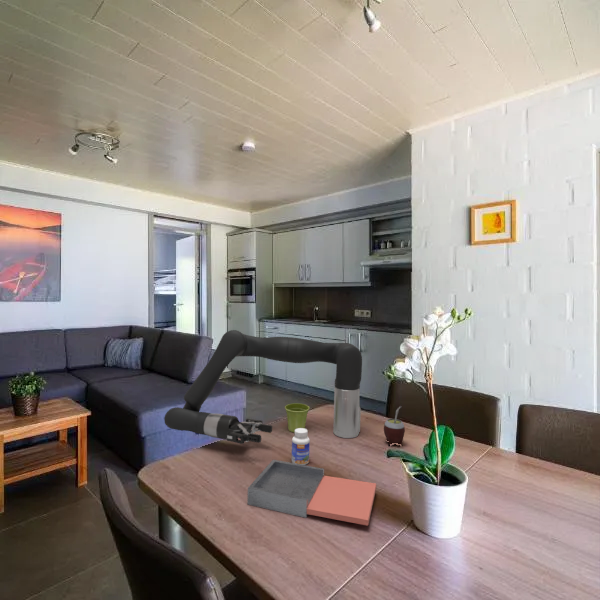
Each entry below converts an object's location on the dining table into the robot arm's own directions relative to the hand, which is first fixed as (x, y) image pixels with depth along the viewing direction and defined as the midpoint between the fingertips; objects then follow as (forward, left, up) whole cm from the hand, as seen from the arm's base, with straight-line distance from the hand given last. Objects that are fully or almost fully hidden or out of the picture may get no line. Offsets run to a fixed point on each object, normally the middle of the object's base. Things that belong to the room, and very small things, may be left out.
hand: (266, 433), depth 113 cm
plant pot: (-22, -10, -7) cm, 25 cm away
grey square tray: (+8, +21, -7) cm, 23 cm away
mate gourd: (-40, +21, -7) cm, 45 cm away
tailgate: (+4, +27, -6) cm, 28 cm away
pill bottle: (-6, +10, -7) cm, 13 cm away
